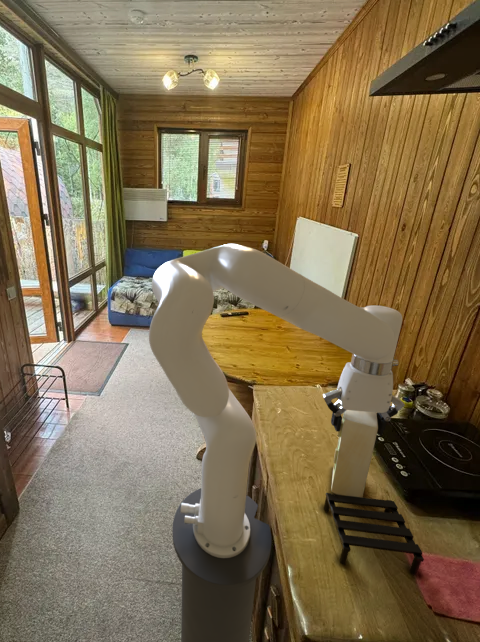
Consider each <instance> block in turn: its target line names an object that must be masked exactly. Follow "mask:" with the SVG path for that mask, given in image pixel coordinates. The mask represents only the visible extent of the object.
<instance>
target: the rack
mask: <svg viewBox="0 0 480 642" xmlns="http://www.w3.org/2000/svg"><path fill="white" fill-rule="evenodd" d="M335 503H337V504H345V505H353V506H361V507H369V508H370V507H371V508H377V509H378V508H379V509H384V511H378V510H369V509H362V508H354V507H345V506H338V505H336V504H335ZM398 509H399V508H398V506H397V504H396V502H395V500H391V499H380V498H372V497H371V498H370V497H354V496H346V495H337V494H335V493H332V492H325V500H324V505H323V511H324V512H325V513H329V512H330V513H331V516H332V519H333V522H334V525H335V528H336V532H337V535H338V537H339V541H340V543H341V551H340V555H339V560H338V561H339V562H340V564H341V565H342V566H346V564H347V561H348V558H349V553H350V552H351V550H352V548H351V547H358V548H367V549H373V550H380V551H389V552H396V553H403V554H411V555H413V558H412V560H411V564H410V567H409V572H410V573H411V574H412V575H413V576H417V575H418V574H419V570H420V567H421V565H422V563H424V561H425V558H424V556H423V551H422V549H421V547H420V546H419V544H418V543H416V542H415V540H414V535H413V533H412V531H411V529H410V528H407V525H406V519H405V518H404V517H403V515H402V514H401V513H399V511H398ZM340 516H342V517H349V518H356V519H365V520H372V521H381V522H388V523H395V524H396V525H397V526H391V525H385V524H384V525H383V524H378V523H377V524H376V523H368V522H361V521H352V520H345V519H341V517H340ZM345 531H352V532H358V533H366V534H367V533H368V534H374V535H382V536H391V537H397V538H404V540H405V541H404V542H402V541H395V540H388V539H381V538H373V537H365V536H358V535H357V536H356V535H351V534H346V532H345Z"/></svg>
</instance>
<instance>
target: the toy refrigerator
mask: <svg viewBox="0 0 480 642" xmlns="http://www.w3.org/2000/svg"><path fill="white" fill-rule="evenodd" d="M377 431H378V423H377V413H375V412H364V411H352V410H346V411H345V412H344V413H343V414H342V422H341V427H340V431H339V432H337V437H338V441H337V446H336V448H335V451H334V457H333V469H332V476H331V489H330V493H332V494H337V495H346V496H354V497H363V496H364V493H365V488H366V484H367V479H368V475H369V471H370V468H371V467H370V466H371V461H372V458H373V457H372V456H373V453H374V448H375V443H376V439H377V435H378V434H377ZM363 498H364V497H363Z"/></svg>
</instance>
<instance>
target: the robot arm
mask: <svg viewBox="0 0 480 642" xmlns="http://www.w3.org/2000/svg"><path fill="white" fill-rule="evenodd" d="M222 289H225V290H226V291H228V292H229V293H231V294H232V295H234V296H235V297H237V298H239V299H241V300H243V301H245V302H247V303H248V304H251V305H253V306H255V307H257V308H260V309H261V310H264V311H265V312H267V313H270V314H272V315H274V316H275V317H277V318H279V319H282V320H283V321H285V322H287V323H289V324H291V325H294V326H295V327H296V328H298V329H300V330H303V331H305V332H307V333H310V334H312V335H315V336H317V337H319V338H321V339H323V340H325V341H327V342H329V343H331V344H333V345H335V346H337V347H339V348H341V349H343V350H345V351H347V352H349V353H350V354H351V358H350V362H346V363H345V365H344V367H343V370H342V372H341V374H340V377H339V380H338V383H337V387H336V389H334V390H330V391H328V392H326V393H323V394H322V398H323V400H324V402H325V405H326V406H327V408H328V409H329V410H330V411H331V418H330V423H331V426H333V427H334V430H335V432H337V433H338V432H339V431H340V427H341V422H342V419H343V413H344V412H345V411H346V410H352V411H364V412H375V413H377V423H378V431H377V435H378V436H381V437H382V436H383V435H384V431H385V430H386V427H387V423H388V422H390V421H391V419H392V417H394V416H396V415H398V414H399V411H401V410H402V409H403V408H404V407H405V406H406V404H405V403H404V401H403V400H401V399H400V398H398V397H397V396H395V395H393V390H394V373H393V371H392V369H393V367H398V366H399V359H395V358H394V357H395V353H396V349H397V345H398V342H399V341H398V340H399V337H400V332H401V329H402V324H403V315H402V313H401V312H400V311H399V310H397V309H395V308H392V307H389V306H383V305H375V304H374V305H366V306H364V307H362V306H361V307H360V306H358V305H356V304H354V303H352V302H350V301H348V300H346V299H344V298H343V297H341V296H339V295H338V294H337V293H336V294H335V293H334V292H332V291H331V290H329V289H327V288H326V287H324V286H322V285H320V284H318V283H316V282H315V281H313V280H311V279H309V278H308V277H306V276H304V275H302V274H301V273H299V272H297V271H295V270H294V269H292V268H290V267H289V266H287V265H285V264H283V263H282V262H280V261H278V260H277V259H275V258H274V257H271V256H270V255H269V254H267V253H265V252H262V251H261V250H258V249H255V248H252V247H249V246H245V245H241V244H238V243H227V244H223V245H218V246H214V247H211V248H208V249H204V250H202V251H201V250H200V251H198V252H195V253H191V254H187V255H185V256H181V257H177V258H174V259H171V260H169V261H166V262H164V263H163V264H162V265H160V266H159V267H157V269H156V270H155V272H154V274H153V276H152V279H151V290H152V293H153V295H154V298H155V299H156V301H157V302H158V306H157V307H156V310H155V311H154V314H153V316H152V318H151V322H150V325H149V329H148V343H149V346H150V350H151V352H152V354H153V356H154V358H155V359H156V361H157V363H158V364H159V366H160V367H161V369H162V370H163V372H164V374H165V376H166V378H167V379H168V381H169V382H170V384H171V385H172V387H173V389H174V390H175V392H176V395H177V396H178V398H179V400H180V401H181V403H182V404H183V406H185V408H186V409H188V410H189V411H190V412H191V413H192V414H193V415H194V417H195V419H196V421H197V424H198V425H199V428H200V430H201V433H202V436H203V438H204V442H205V451H204V453H203V455H202V460H201V483H200V485H201V486H200V487H201V499H200V504H197V503H196V504H195V505H190V504H186V503H182V502H181V503H182V504H181V503H180V504H181V513H185V514H188V513H189V514H195V515H194V517H191V516H185V520H184V523H188V524H190V523H191V524H193V532H194V536H195V539H196V540H197V542H198V544H199V545H200V547H201V548H202V549H203V550H204V551H206V552H207V553H209V554H210V555H212V556H215V557H218V558H230V557H234V556H236V555H238V554H240V553H241V552H242V551H243V550H244V549H245V547H246V546H247V544H248V542H249V538H250V523H249V520H248V518H247V516H246V514H245V503H246V495H247V490H248V479H249V470H250V464H251V463H250V462H251V458H252V454H253V452H254V449H255V446H256V443H257V431H256V427H255V424H254V422H253V421H252V418H251V417H250V415H249V414H248V412H247V411H246V409H245V408H244V407H243V405H242V404H241V403H240V401H239V400H238V398H236V396H235V395H234V393H233V391H232V390H231V389H230V387H229V385H228V380H227V378H226V376H225V373H224V372H223V370H222V368H221V367H220V365H219V364H218V363H217V361H216V360H215V359H214V357H213V356H212V354H211V352H210V350H209V349H208V346H207V344H206V342H205V341H204V338H203V329H204V328H205V325H206V323H207V321H208V320H209V317H210V316H211V313H212V311H213V308H214V303H215V295H214V292H217V291H220V290H222ZM335 399H338V400H337V401H336V402H334V403H333V401H332V400H335ZM391 403H392V404H391Z"/></svg>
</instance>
